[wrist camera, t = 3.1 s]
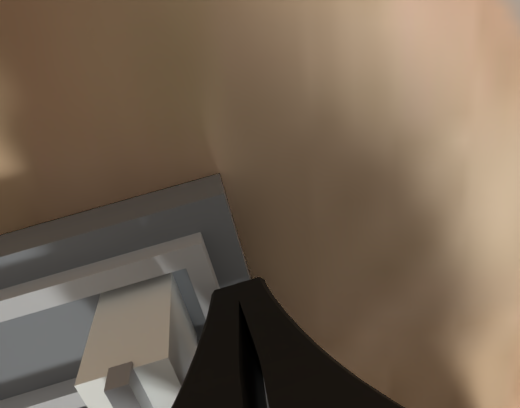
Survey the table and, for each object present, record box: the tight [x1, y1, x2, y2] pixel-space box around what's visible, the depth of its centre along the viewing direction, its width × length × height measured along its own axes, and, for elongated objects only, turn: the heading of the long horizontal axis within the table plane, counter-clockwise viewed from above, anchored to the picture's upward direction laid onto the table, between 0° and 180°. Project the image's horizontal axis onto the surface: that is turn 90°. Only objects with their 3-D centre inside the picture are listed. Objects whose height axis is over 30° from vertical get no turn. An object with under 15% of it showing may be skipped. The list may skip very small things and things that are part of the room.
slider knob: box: [74, 272, 198, 408], centre depth 11 cm, size 3×2×4 cm
